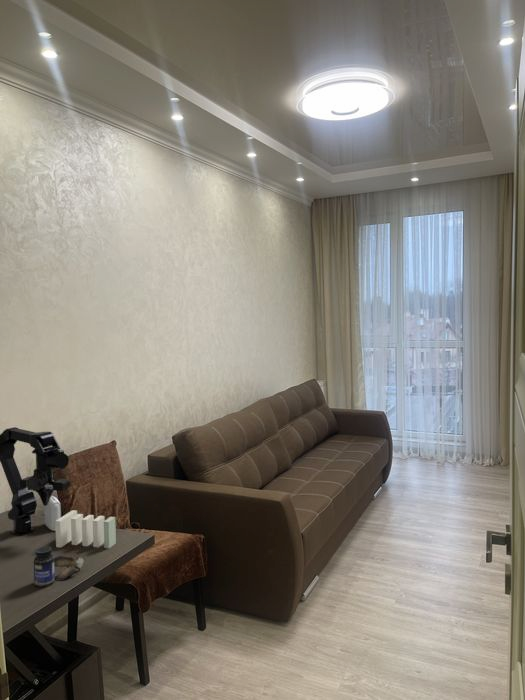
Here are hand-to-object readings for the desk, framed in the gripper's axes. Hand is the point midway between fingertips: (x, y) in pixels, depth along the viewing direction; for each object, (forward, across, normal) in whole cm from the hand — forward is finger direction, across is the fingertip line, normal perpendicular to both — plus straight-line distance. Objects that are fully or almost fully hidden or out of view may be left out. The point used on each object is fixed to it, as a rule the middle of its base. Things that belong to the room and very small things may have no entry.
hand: (45, 505), depth 204 cm
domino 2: (+13, +14, 0) cm, 19 cm away
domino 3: (+13, +18, 0) cm, 22 cm away
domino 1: (+13, +9, 0) cm, 16 cm away
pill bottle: (+13, +21, -30) cm, 39 cm away
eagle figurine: (+13, +25, -24) cm, 37 cm away
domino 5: (+13, +27, 0) cm, 30 cm away
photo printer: (+13, -4, +10) cm, 17 cm away
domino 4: (+13, +23, 0) cm, 26 cm away
